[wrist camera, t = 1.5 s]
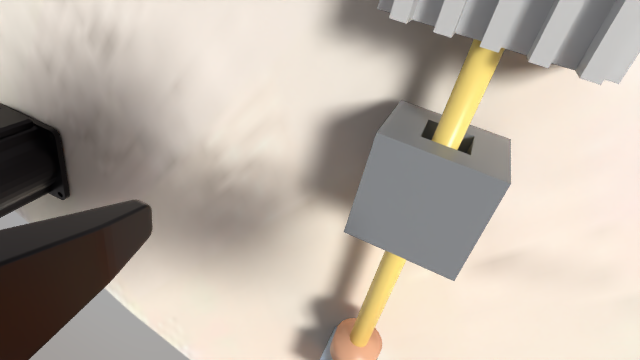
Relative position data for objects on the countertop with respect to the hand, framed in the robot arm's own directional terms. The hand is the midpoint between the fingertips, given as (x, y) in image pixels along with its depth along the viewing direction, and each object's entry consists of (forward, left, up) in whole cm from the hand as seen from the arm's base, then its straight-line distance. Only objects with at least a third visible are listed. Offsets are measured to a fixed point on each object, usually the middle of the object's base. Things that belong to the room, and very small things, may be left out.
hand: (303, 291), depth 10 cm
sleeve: (-1, -2, -12) cm, 12 cm away
